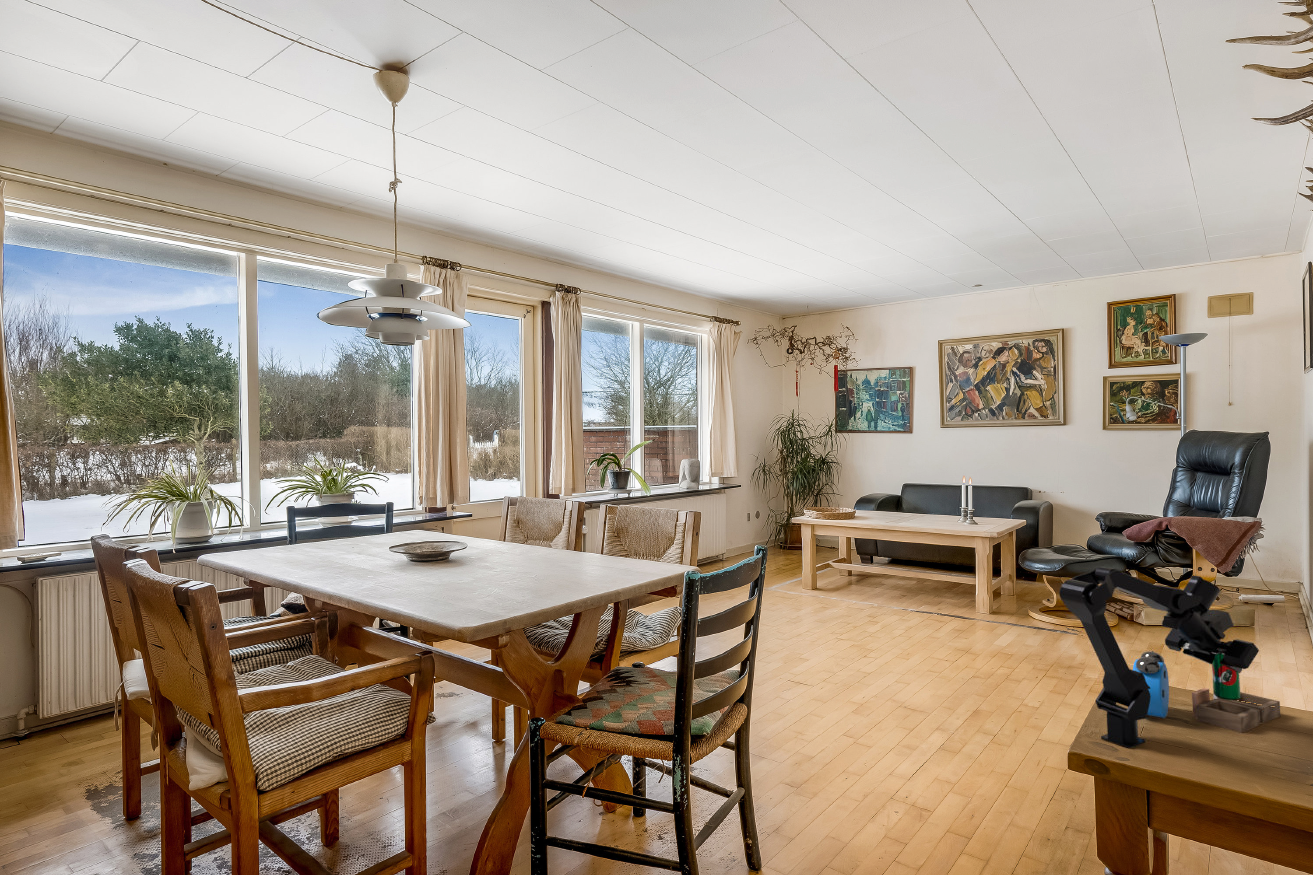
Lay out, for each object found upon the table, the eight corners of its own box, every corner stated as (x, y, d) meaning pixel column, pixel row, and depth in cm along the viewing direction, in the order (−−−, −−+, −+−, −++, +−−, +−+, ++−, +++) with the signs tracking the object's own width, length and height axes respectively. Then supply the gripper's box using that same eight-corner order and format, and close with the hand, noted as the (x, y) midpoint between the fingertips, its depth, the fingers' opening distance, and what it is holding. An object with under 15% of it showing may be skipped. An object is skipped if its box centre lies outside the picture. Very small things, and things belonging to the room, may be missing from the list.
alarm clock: (1142, 704, 181) (1139, 646, 181) (1171, 710, 176) (1168, 650, 177) (1132, 720, 171) (1129, 658, 171) (1163, 726, 167) (1160, 662, 167)
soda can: (1246, 700, 165) (1243, 649, 166) (1226, 701, 165) (1223, 650, 165) (1227, 693, 170) (1224, 643, 171) (1208, 694, 170) (1205, 644, 170)
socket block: (1241, 732, 162) (1240, 706, 162) (1189, 718, 171) (1188, 693, 171) (1280, 715, 170) (1279, 690, 170) (1229, 702, 180) (1228, 679, 180)
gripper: (1250, 608, 158) (1289, 652, 161) (1171, 592, 176) (1207, 633, 179) (1225, 646, 156) (1265, 690, 159) (1148, 627, 174) (1184, 667, 177)
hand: (1229, 668), depth 168 cm, fingers closed on soda can, 5 cm apart
